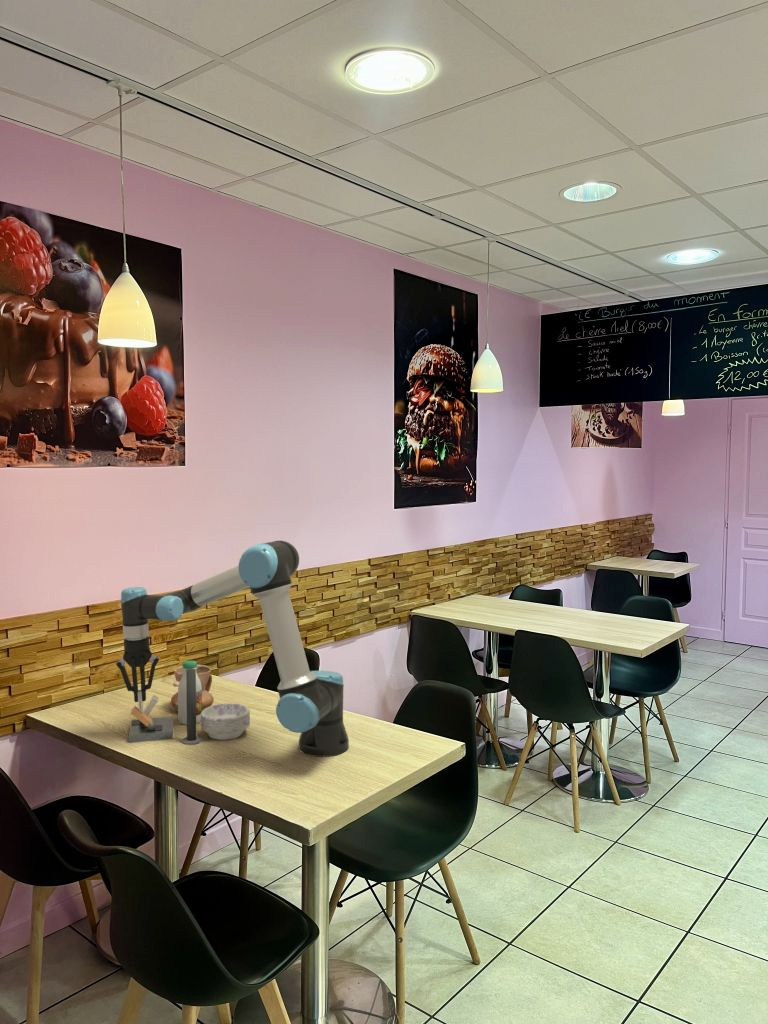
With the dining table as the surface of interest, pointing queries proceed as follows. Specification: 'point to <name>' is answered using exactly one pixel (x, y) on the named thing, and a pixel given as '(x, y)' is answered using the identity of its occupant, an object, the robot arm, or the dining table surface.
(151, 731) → the panel
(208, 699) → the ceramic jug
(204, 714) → the paper bowls
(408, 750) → the dining table surface
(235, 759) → the dining table surface
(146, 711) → the paddle
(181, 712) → the milk bottle
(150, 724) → the orange rounded bar
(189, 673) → the post
